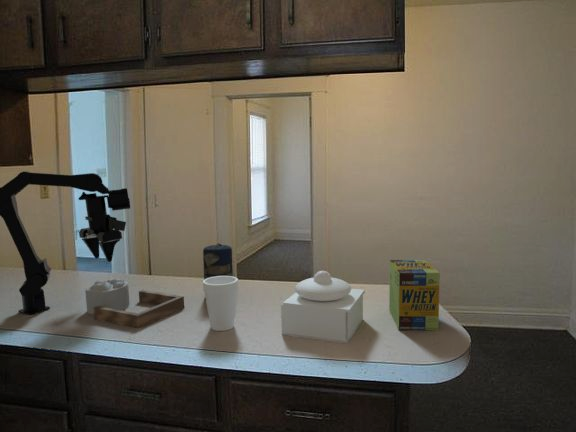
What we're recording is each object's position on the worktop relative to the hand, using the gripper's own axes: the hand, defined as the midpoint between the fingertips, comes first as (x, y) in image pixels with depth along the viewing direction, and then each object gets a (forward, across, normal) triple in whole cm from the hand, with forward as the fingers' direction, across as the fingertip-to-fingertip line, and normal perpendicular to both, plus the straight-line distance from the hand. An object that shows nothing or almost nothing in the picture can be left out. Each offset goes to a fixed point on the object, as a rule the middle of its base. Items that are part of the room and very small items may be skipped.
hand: (103, 259), depth 146 cm
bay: (+14, -18, -1) cm, 23 cm away
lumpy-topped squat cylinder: (+14, -7, +3) cm, 16 cm away
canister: (+16, -24, -26) cm, 39 cm away
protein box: (+19, -84, -47) cm, 98 cm away
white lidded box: (+17, -68, -28) cm, 76 cm away
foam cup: (+16, -47, -10) cm, 51 cm away
